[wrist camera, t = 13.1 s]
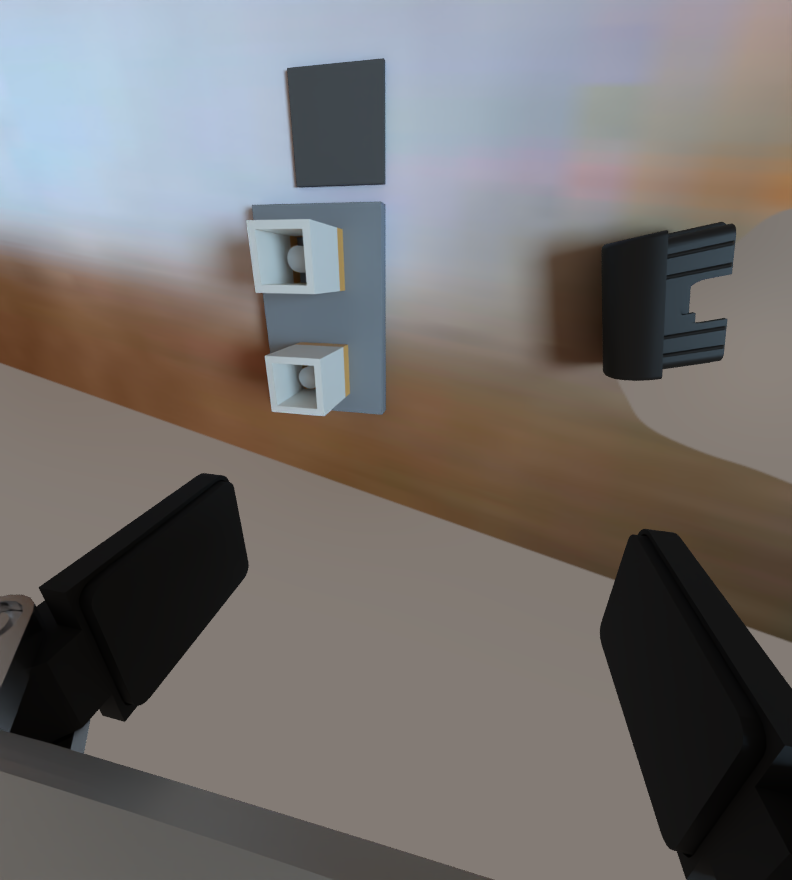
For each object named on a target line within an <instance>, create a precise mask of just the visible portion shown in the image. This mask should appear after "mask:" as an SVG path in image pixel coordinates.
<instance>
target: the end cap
mask: <svg viewBox="0 0 792 880" xmlns="http://www.w3.org/2000/svg"><path fill="white" fill-rule="evenodd" d="M735 239H736V227H735V225H734V224H727V225H726V224H725V223H724V222H718V223H714V224H710V225H705V226H700V227H696V228H691V229H687V230H682V231H678V232H674V233H669V234H668V231H667V230H665V231H661V232H657V233H652V234H648V235H644V236H639V237H635V238H631V239H626V240H622V241H618V242H613V243H609V244H606V245H604V246H603V247H602V327H603V372H604V374H605V375H606V376H608V377H611V378H614V379H619V380H633V381H637V380H638V381H639V380H655V379H661V378H662V369H667V368H674V367H681V366H688V365H695V364H703V363H710V362H714V361H720V360H721V359H722V358H723V355H724V345H725V336H726V327H727V319H725V318H722V319H716V320H710V321H704V322H696V323H695V313H693V312H692V313H689V303H690V302H689V301H690V288H691V286H692V285H693V284H695V283H696V282H698V281H701V280H704V279H709V278H714V277H719V276H724V275H729V274H732V268H733V258H734V248H735Z"/></svg>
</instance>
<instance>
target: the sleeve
mask: <svg viewBox="0 0 792 880" xmlns="http://www.w3.org/2000/svg"><path fill="white" fill-rule="evenodd" d="M265 362H266V370H267V377H268V385H269V393H270V400H271V408H272V412H283V413H294V414H305V415H316V416H325V415H326V414H327V413H328V412H330V411H331V410H332V409H333V408H334V407H335V406H336V405H337V404H339V403H340V402H341V401H342V400H343V399H344V398H345V397H346V396H348V395H349V394H350V382H349V357H348V345H347V344H327V343H307V342H300V343H297V344H295V345H292V346H289V347H287V348H284V349H281V350H279V351H276V352H273V353H271V354H268V355H265ZM308 365H309V366H314V373H315V386H316V387H315V388H312V389H309V388H306V387H304V386H303V385H302V384H301V382H300V380H299V373H300V371H301V370H302V369H304V368H305V367H307V366H308Z"/></svg>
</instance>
